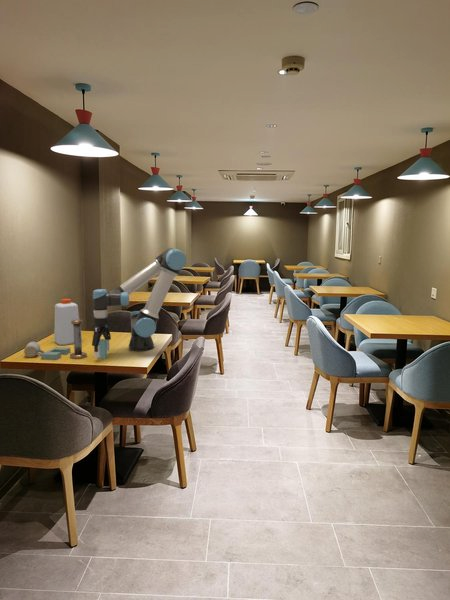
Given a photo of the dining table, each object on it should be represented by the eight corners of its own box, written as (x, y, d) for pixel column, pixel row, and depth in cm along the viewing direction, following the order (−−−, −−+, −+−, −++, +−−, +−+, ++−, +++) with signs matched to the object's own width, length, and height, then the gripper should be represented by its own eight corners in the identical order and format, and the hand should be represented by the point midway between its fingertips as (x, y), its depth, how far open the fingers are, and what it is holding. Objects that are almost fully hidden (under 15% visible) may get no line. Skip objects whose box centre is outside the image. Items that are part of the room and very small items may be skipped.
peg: (107, 356, 262) (106, 339, 261) (104, 358, 258) (103, 341, 257) (100, 356, 263) (99, 339, 261) (97, 358, 259) (96, 340, 257)
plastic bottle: (59, 346, 286) (57, 301, 282) (52, 341, 298) (50, 299, 294) (83, 342, 295) (81, 299, 291) (76, 338, 307) (73, 297, 303)
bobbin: (89, 355, 265) (87, 319, 262) (82, 359, 257) (80, 322, 254) (74, 354, 267) (73, 318, 264) (67, 358, 258) (65, 321, 255)
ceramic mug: (23, 358, 259) (23, 345, 258) (26, 354, 267) (26, 341, 266) (43, 357, 261) (43, 344, 260) (46, 353, 269) (45, 341, 268)
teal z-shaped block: (70, 352, 271) (70, 347, 270) (56, 359, 255) (56, 354, 255) (56, 352, 272) (56, 347, 272) (41, 359, 257) (41, 354, 256)
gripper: (103, 313, 270) (104, 348, 273) (84, 321, 246) (86, 359, 249) (115, 313, 269) (117, 348, 272) (97, 321, 244) (99, 360, 247)
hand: (102, 354), depth 260 cm, fingers open, 13 cm apart
